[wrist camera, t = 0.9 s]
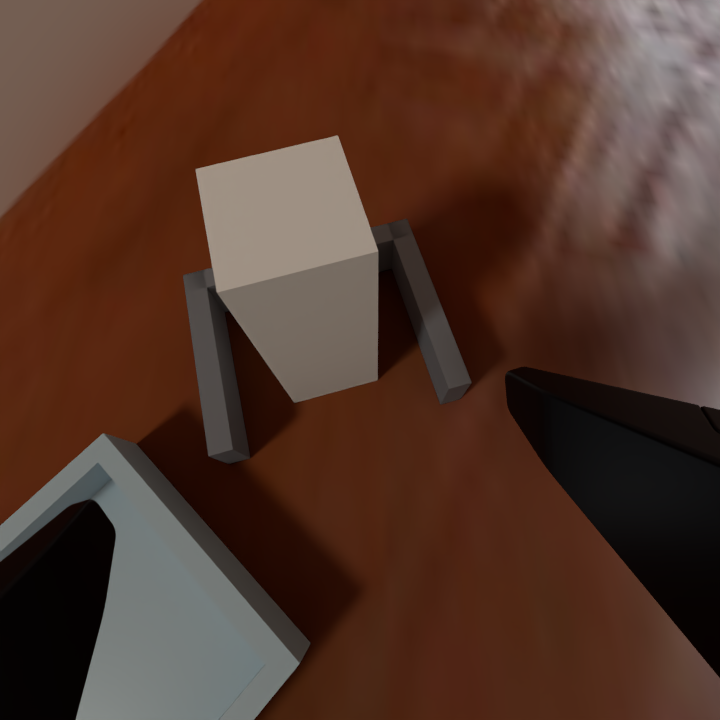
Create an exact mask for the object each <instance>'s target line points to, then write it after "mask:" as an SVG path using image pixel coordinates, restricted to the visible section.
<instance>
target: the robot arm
mask: <svg viewBox="0 0 720 720" xmlns="http://www.w3.org/2000/svg"><path fill="white" fill-rule="evenodd" d="M505 384H506V396H507V405H508V409H509V411H510V413H511V415H512V416H513V418H514V419H515V421H516V422H517V424H518V426H519V427H520V429H521V430H522V432H523V433H524V435H525V436H526V438H527V439H528V441H529V442H530V444H531V445H532V447H533V449H534V450H535V452H536V453H537V455H538V456H539V458H540V459H541V461H542V462H543V464H544V465H545V466H546V468H547V469H548V470H549V472H550V473H551V474H552V475H553V477H554V478H555V479H556V480H557V482H558V483H559V484H560V485H561V486H562V488H563V489H564V490H565V491H566V492H567V494H568V495H569V496H570V497H571V498H572V500H573V501H574V502H575V503H576V504H577V506H578V507H579V508H580V509H581V511H582V512H583V513H584V514H585V515H586V517H587V518H588V519H589V520H590V521H591V523H592V524H593V525H594V526H595V527H596V529H597V530H598V531H599V532H600V534H601V535H602V536H603V537H604V538H605V540H606V541H607V542H608V543H609V544H610V546H611V547H612V548H613V549H614V550H615V552H616V553H617V554H618V555H619V556H620V558H621V559H622V560H623V561H624V563H625V564H626V565H627V566H628V567H629V569H630V570H631V571H632V572H633V573H634V575H635V576H636V577H637V578H638V579H639V581H640V582H641V583H642V584H643V586H644V587H645V588H646V589H647V590H648V592H649V593H650V594H651V595H652V596H653V598H654V599H655V600H656V601H657V602H658V604H659V605H660V606H661V607H662V608H663V610H664V611H665V612H666V613H667V615H668V616H669V617H670V618H671V619H672V621H673V622H674V623H675V624H676V625H677V627H678V628H679V629H680V630H681V631H682V633H683V634H684V635H685V636H686V638H687V639H688V640H689V641H690V642H691V644H692V645H693V646H694V647H695V648H696V650H697V651H698V652H699V653H700V654H701V656H702V657H703V658H704V659H705V660H706V662H707V663H708V664H709V665H710V667H711V668H712V669H713V670H714V671H715V673H716V674H717V675H718V676H719V677H720V410H718V409H714V408H710V407H705V406H703V407H701V408H700V407H699V406H698V405H696V404H691V403H687V402H682V401H678V400H673V399H668V398H664V397H659V396H655V395H650V394H646V393H641V392H637V391H632V390H628V389H623V388H619V387H614V386H610V385H605V384H601V383H596V382H592V381H587V380H583V379H578V378H574V377H569V376H565V375H560V374H556V373H551V372H547V371H542V370H538V369H533V368H529V367H520V368H517V369H514V370H510V371H508V372H507V373H506V375H505ZM115 541H116V531H115V528H114V526H113V524H112V522H111V521H110V520H109V518H108V517H107V515H106V514H105V512H104V511H103V510H102V508H101V507H100V505H99V504H98V503H97V502H96V501H95V500H92V499H88V500H85V501H81V502H78V503H75V504H72V505H70V506H68V507H67V508H66V509H64V510H63V511H62V512H61V513H59V514H58V515H57V516H56V517H55V518H53V519H52V520H51V521H50V522H48V523H47V524H46V525H45V526H44V527H42V528H41V529H40V530H39V531H37V532H36V533H35V534H34V535H32V536H31V537H30V538H29V539H28V540H26V541H25V542H24V543H23V544H21V545H20V546H19V547H18V548H16V549H15V550H14V551H13V552H12V553H10V554H9V555H8V556H7V557H5V558H4V559H3V560H2V561H1V562H0V720H76V717H77V713H78V709H79V705H80V702H81V698H82V694H83V690H84V686H85V683H86V679H87V675H88V671H89V668H90V664H91V660H92V656H93V652H94V649H95V645H96V641H97V637H98V633H99V630H100V626H101V622H102V618H103V613H104V609H105V603H106V598H107V592H108V585H109V579H110V573H111V566H112V560H113V554H114V547H115Z"/></svg>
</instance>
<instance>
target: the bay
mask: <svg viewBox="0 0 720 720" xmlns="http://www.w3.org/2000/svg"><path fill="white" fill-rule="evenodd" d="M370 229H371V232H372V234H373V237H374V240H375V243H376V246H377V249H378V272H382V271H385V270H389V269H392V271H393V274H394V276H395V279H396V282H397V285H398V287H399V290H400V293H401V296H402V299H403V301H404V304H405V307H406V310H407V313H408V315H409V318H410V321H411V324H412V327H413V329H414V332H415V335H416V338H417V341H418V343H419V346H420V349H421V352H422V354H423V357H424V360H425V363H426V366H427V368H428V371H429V374H430V377H431V380H432V382H433V385H434V388H435V391H436V394H437V396H438V399H439V402H440V405H441V404H444V403H448V402H451V401H455V400H458V399H461V397H462V396H463V394H464V393H465V392H466V390H467V389H468V387H469V386H470V384H471V383H472V382H471V380H470V377H469V375H468V372H467V370H466V367H465V364H464V362H463V359H462V357H461V354H460V352H459V349H458V347H457V344H456V342H455V339H454V337H453V334H452V332H451V329H450V326H449V324H448V321H447V319H446V316H445V314H444V311H443V309H442V306H441V304H440V301H439V299H438V296H437V294H436V291H435V288H434V286H433V283H432V281H431V278H430V276H429V273H428V271H427V268H426V266H425V263H424V261H423V258H422V256H421V253H420V250H419V248H418V245H417V243H416V240H415V238H414V235H413V233H412V230H411V228H410V225H409V223H408V220H407V219H404V220H400V221H396V222H392V223H388V224H384V225H380V226H376V227H372V228H370ZM183 278H184V286H185V293H186V300H187V307H188V314H189V321H190V328H191V335H192V343H193V350H194V357H195V364H196V371H197V378H198V385H199V393H200V400H201V407H202V414H203V421H204V428H205V435H206V442H207V450H208V456H209V457H212V458H214V459H217V460H219V461H222V462H225V463H227V464H231V463H235V462H238V461H242V460H246V459H249V458H250V453H249V447H248V441H247V436H246V430H245V424H244V419H243V413H242V407H241V402H240V396H239V390H238V385H237V379H236V373H235V368H234V362H233V356H232V351H231V345H230V339H229V334H228V328H227V322H226V317H225V312H227V311H229V309H228V308H227V306H226V305H225V304H224V302H223V301H222V299H221V298H220V296H219V295H218V294H217V291H216V285H215V279H214V273H213V268H210V269H206V270H202V271H198V272H194V273H190V274H186V275H183Z"/></svg>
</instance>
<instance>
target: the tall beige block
mask: <svg viewBox="0 0 720 720" xmlns="http://www.w3.org/2000/svg"><path fill="white" fill-rule="evenodd" d="M196 175H197V181H198V186H199V192H200V198H201V204H202V210H203V215H204V221H205V227H206V233H207V239H208V244H209V250H210V256H211V262H212V268H213V273H214V279H215V285H216V291H217V294H218V295H219V296H220V298H221V299H222V301H223V302H224V304H225V305H226V306H227V308H228V309H229V311H230V312H231V314H232V315H233V316H234V318H235V319H236V321H237V322H238V324H239V325H240V326H241V328H242V329H243V331H244V332H245V333H246V335H247V336H248V338H249V339H250V341H251V342H252V343H253V345H254V346H255V348H256V349H257V351H258V352H259V353H260V355H261V356H262V358H263V359H264V361H265V362H266V363H267V365H268V366H269V368H270V369H271V370H272V372H273V373H274V375H275V376H276V378H277V379H278V380H279V382H280V383H281V385H282V386H283V388H284V389H285V390H286V392H287V393H288V395H289V396H290V398H291V399H292V400H293V402H294V403H296V402H300V401H304V400H307V399H311V398H314V397H318V396H322V395H325V394H329V393H333V392H336V391H340V390H344V389H347V388H351V387H354V386H358V385H362V384H365V383H369V382H373V381H376V380H378V249H377V246H376V243H375V240H374V237H373V234H372V232H371V229H370V226H369V223H368V220H367V217H366V214H365V212H364V209H363V206H362V203H361V200H360V197H359V195H358V192H357V189H356V186H355V183H354V180H353V177H352V175H351V172H350V169H349V166H348V163H347V160H346V157H345V155H344V152H343V149H342V146H341V143H340V140H339V138H338V136H334V137H330V138H325V139H321V140H317V141H313V142H308V143H304V144H300V145H296V146H291V147H287V148H283V149H279V150H275V151H270V152H266V153H262V154H258V155H253V156H249V157H245V158H241V159H237V160H232V161H228V162H224V163H220V164H215V165H211V166H207V167H203V168H198V169H196Z"/></svg>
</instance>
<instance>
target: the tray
mask: <svg viewBox="0 0 720 720" xmlns="http://www.w3.org/2000/svg"><path fill="white" fill-rule="evenodd" d="M88 499H92V500H95V501H96V502H97V503H98V504H99V505H100V507H101V508H102V510H103V511H104V512H105V514H106V515H107V517H108V518H109V520H110V521H111V522H112V524H113V526H114V528H115V531H116V541H115V547H114V554H113V560H112V566H111V573H110V579H109V585H108V592H107V598H106V603H105V609H104V613H103V618H102V622H101V626H100V630H99V633H98V637H97V641H96V645H95V649H94V652H93V656H92V660H91V664H90V668H89V671H88V675H87V679H86V683H85V686H84V690H83V694H82V698H81V702H80V705H79V709H78V713H77V717H76V720H254V719H255V718H256V717H257V715H258V714H259V713H260V712H261V711H262V709H263V708H264V707H265V706H266V704H267V703H268V702H269V701H270V699H271V698H272V697H273V696H274V695H275V693H276V692H277V691H278V690H279V688H280V687H281V686H282V685H283V684H284V682H285V681H286V680H287V679H288V677H289V676H290V675H291V674H292V672H293V671H294V670H295V669H296V668H297V666H298V665H299V664H300V662H301V660H302V659H303V657H304V655H305V653H306V651H307V649H308V648H309V646H310V644H311V643H310V642H309V641H308V639H307V638H306V637H305V636H304V635H303V634H302V633H301V631H300V630H299V629H298V628H297V627H296V626H295V625H294V623H293V622H292V621H291V620H290V619H289V618H288V617H287V615H286V614H285V613H284V612H283V611H282V610H281V609H280V607H279V606H278V605H277V604H276V603H275V602H274V601H273V599H272V598H271V597H270V596H269V595H268V594H267V593H266V591H265V590H264V589H263V588H262V587H261V586H260V585H259V583H258V582H257V581H256V580H255V579H254V578H253V577H252V576H251V574H250V573H249V572H248V571H247V570H246V569H245V568H244V566H243V565H242V564H241V563H240V562H239V561H238V560H237V558H236V557H235V556H234V555H233V554H232V553H231V552H230V550H229V549H228V548H227V547H226V546H225V545H224V544H223V542H222V541H221V540H220V539H219V538H218V537H217V536H216V534H215V533H214V532H213V531H212V530H211V529H210V528H209V526H208V525H207V524H206V523H205V522H204V521H203V520H202V518H201V517H200V516H199V515H198V514H197V513H196V512H195V510H194V509H193V508H192V507H191V506H190V505H189V504H188V502H187V501H186V500H185V499H184V498H183V497H182V496H181V495H180V493H179V492H178V491H177V490H176V489H175V488H174V487H173V485H172V484H171V483H170V482H169V481H168V480H167V479H166V477H165V476H164V475H163V474H162V473H161V472H160V471H159V469H158V468H157V467H156V466H155V465H154V464H153V463H152V461H151V460H150V459H149V458H148V457H147V456H146V455H145V453H144V452H143V451H142V450H141V449H140V448H139V447H138V445H137V444H135V443H132V442H129V441H126V440H123V439H120V438H117V437H114V436H110V435H107V434H104V433H103V434H102V435H101V436H100V437H99V438H97V439H96V440H95V441H94V442H93V443H92V444H91V445H90V446H89V447H87V448H86V449H85V450H84V451H83V452H82V453H81V454H80V455H79V456H77V457H76V458H75V459H74V460H73V461H72V462H71V463H70V464H69V465H67V466H66V467H65V468H64V469H63V470H62V471H61V472H60V473H58V474H57V475H56V476H55V477H54V478H53V479H52V480H51V481H50V482H48V483H47V484H46V485H45V486H44V487H43V488H42V489H41V490H40V491H38V492H37V493H36V494H35V495H34V496H33V497H32V498H31V499H30V500H28V501H27V502H26V503H25V504H24V505H23V506H22V507H21V508H19V509H18V510H17V511H16V512H15V513H14V514H13V515H12V516H11V517H9V518H8V519H7V520H6V521H5V522H4V523H3V524H2V525H1V526H0V562H1V561H2V560H3V559H4V558H5V557H7V556H8V555H9V554H10V553H12V552H13V551H14V550H15V549H16V548H18V547H19V546H20V545H21V544H23V543H24V542H25V541H26V540H28V539H29V538H30V537H31V536H32V535H34V534H35V533H36V532H37V531H39V530H40V529H41V528H42V527H44V526H45V525H46V524H47V523H48V522H50V521H51V520H52V519H53V518H55V517H56V516H57V515H58V514H59V513H61V512H62V511H63V510H64V509H66V508H67V507H68V506H70V505H72V504H75V503H78V502H81V501H85V500H88Z"/></svg>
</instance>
